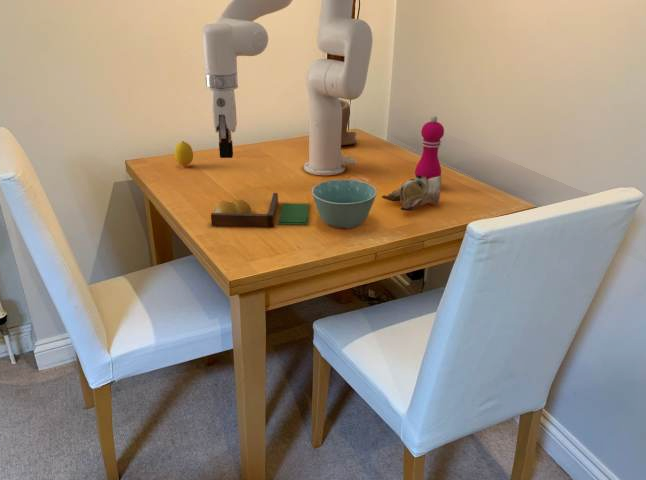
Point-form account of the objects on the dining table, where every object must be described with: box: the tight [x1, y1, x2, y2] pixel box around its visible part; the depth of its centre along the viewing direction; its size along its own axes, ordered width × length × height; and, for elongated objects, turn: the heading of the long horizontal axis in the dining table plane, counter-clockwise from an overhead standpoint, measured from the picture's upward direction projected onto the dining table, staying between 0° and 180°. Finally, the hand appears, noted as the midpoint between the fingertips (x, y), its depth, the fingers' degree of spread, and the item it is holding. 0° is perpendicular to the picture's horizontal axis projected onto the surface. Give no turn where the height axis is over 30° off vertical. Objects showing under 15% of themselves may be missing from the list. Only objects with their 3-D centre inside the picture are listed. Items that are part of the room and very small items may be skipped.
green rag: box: [277, 202, 310, 226], centre depth 148 cm, size 7×13×1 cm, turn 178°
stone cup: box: [339, 98, 357, 146], centre depth 196 cm, size 15×12×15 cm
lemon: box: [173, 140, 194, 168], centre depth 177 cm, size 6×6×8 cm
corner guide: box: [210, 192, 279, 228], centre depth 147 cm, size 15×15×3 cm
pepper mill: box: [414, 115, 445, 180], centre depth 160 cm, size 7×7×20 cm
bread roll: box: [214, 199, 252, 214], centre depth 146 cm, size 8×9×4 cm
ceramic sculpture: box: [381, 175, 442, 212], centre depth 151 cm, size 11×9×15 cm
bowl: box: [311, 179, 378, 230], centre depth 142 cm, size 16×16×8 cm
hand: (226, 156), depth 147 cm, fingers closed
